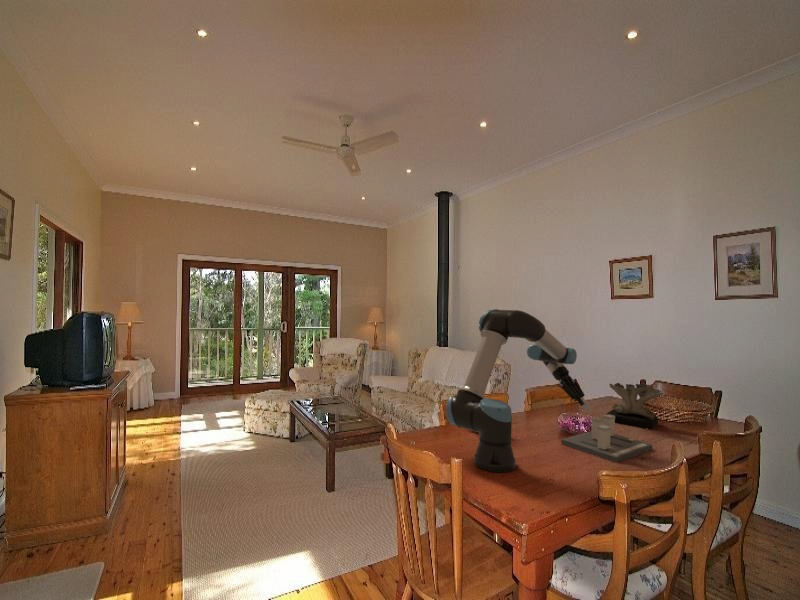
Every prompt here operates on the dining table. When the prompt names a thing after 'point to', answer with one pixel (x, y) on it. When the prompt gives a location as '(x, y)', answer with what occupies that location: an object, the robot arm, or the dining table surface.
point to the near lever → (603, 437)
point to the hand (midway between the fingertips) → (588, 410)
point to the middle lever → (595, 423)
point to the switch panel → (617, 451)
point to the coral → (634, 405)
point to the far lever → (610, 423)
